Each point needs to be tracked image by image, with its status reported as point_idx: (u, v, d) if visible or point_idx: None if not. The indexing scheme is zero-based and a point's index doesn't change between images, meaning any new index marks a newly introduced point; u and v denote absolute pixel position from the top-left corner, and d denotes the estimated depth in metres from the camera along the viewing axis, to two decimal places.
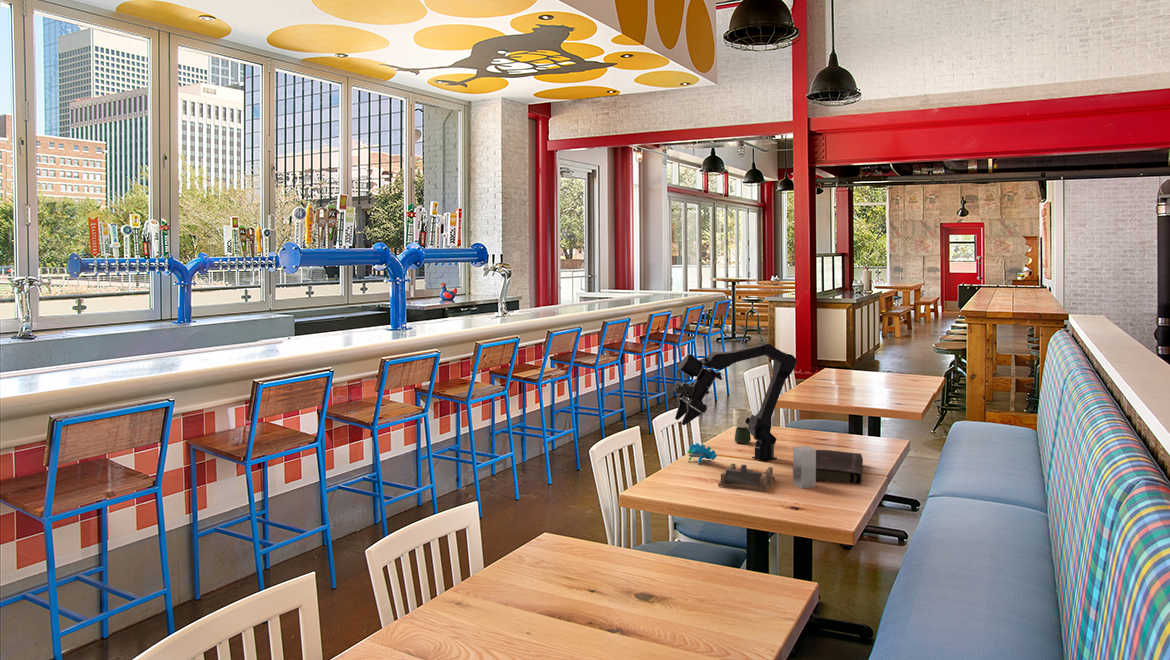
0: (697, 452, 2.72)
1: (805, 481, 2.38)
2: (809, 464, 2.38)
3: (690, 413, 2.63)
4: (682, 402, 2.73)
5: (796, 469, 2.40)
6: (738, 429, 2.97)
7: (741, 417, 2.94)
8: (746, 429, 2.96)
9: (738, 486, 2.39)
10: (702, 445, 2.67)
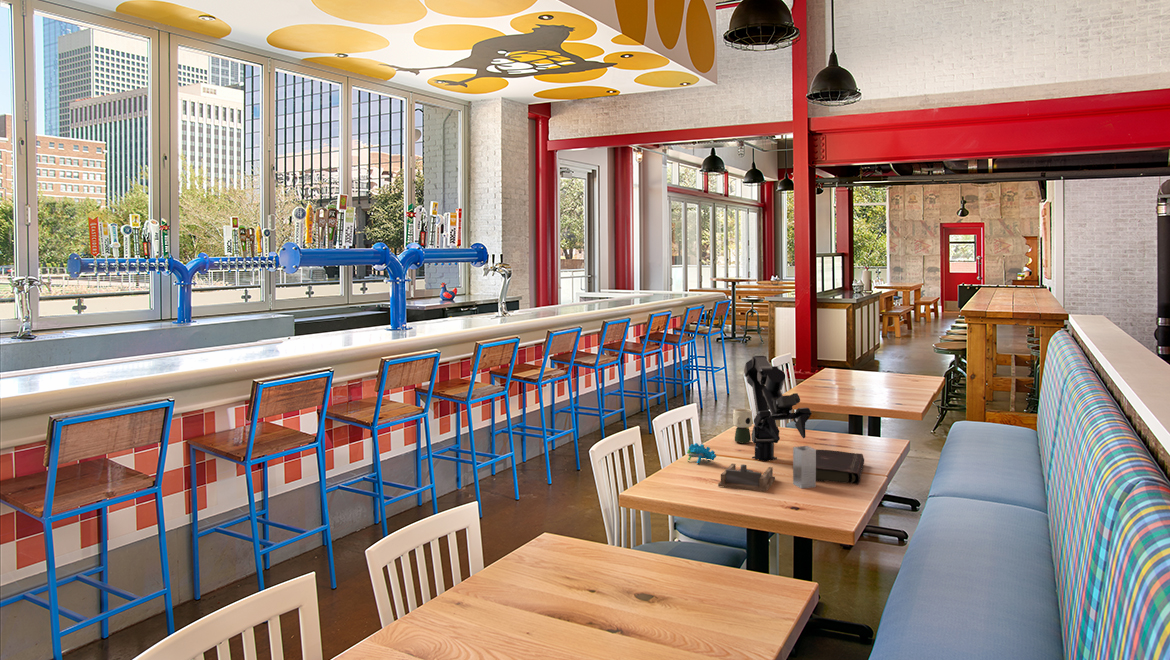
0: (697, 452, 2.72)
1: (805, 481, 2.38)
2: (809, 464, 2.38)
3: None
4: None
5: (796, 469, 2.40)
6: (738, 429, 2.97)
7: (741, 417, 2.94)
8: (746, 429, 2.96)
9: (738, 486, 2.39)
10: (701, 445, 2.67)
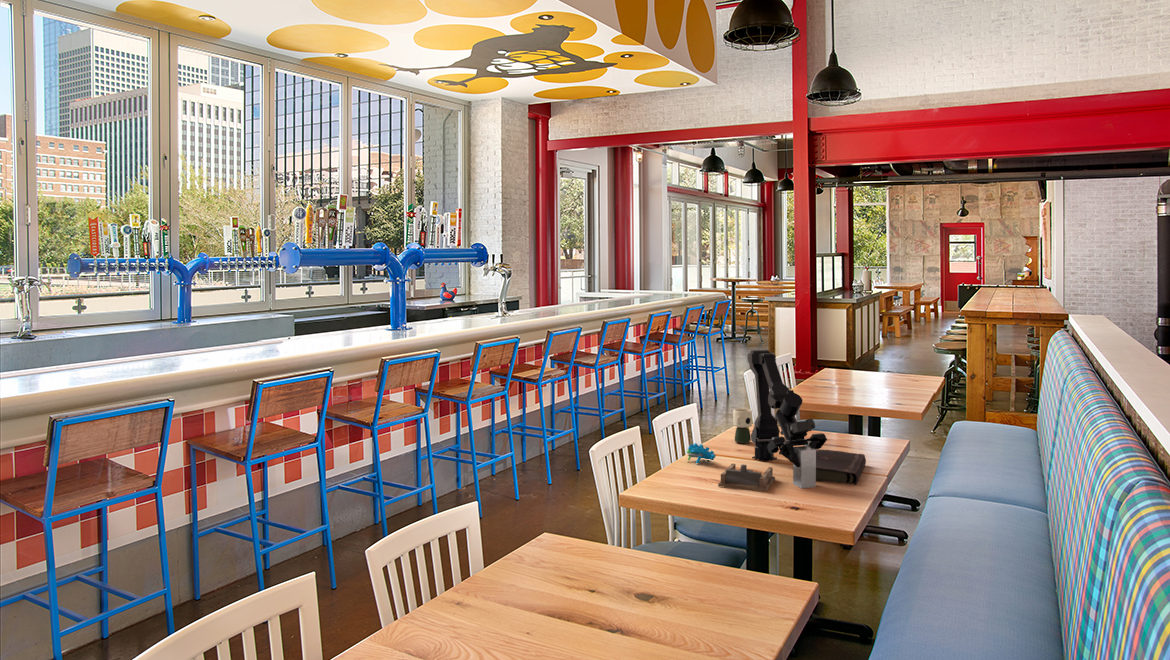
0: (696, 452, 2.72)
1: (805, 481, 2.38)
2: (809, 464, 2.38)
3: None
4: None
5: (796, 469, 2.40)
6: (738, 429, 2.97)
7: (741, 417, 2.94)
8: (746, 429, 2.96)
9: (738, 486, 2.39)
10: (700, 445, 2.67)
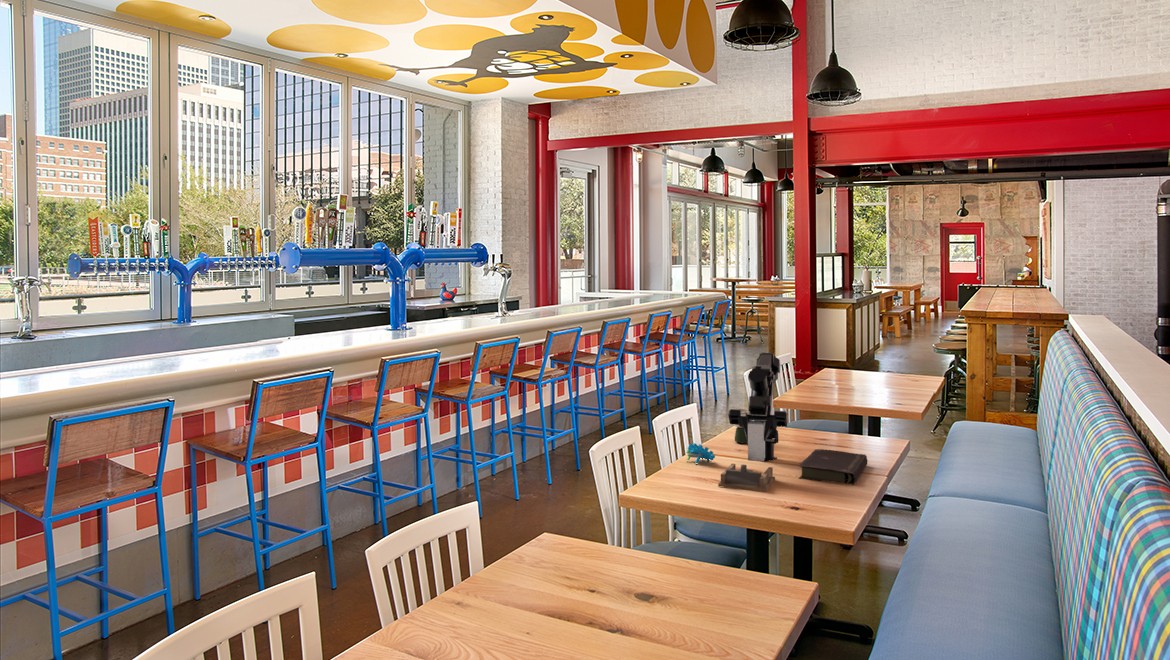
0: (696, 452, 2.72)
1: (752, 454, 2.46)
2: (756, 438, 2.45)
3: None
4: (747, 420, 2.50)
5: None
6: (738, 429, 2.97)
7: None
8: None
9: (738, 486, 2.39)
10: (699, 445, 2.67)
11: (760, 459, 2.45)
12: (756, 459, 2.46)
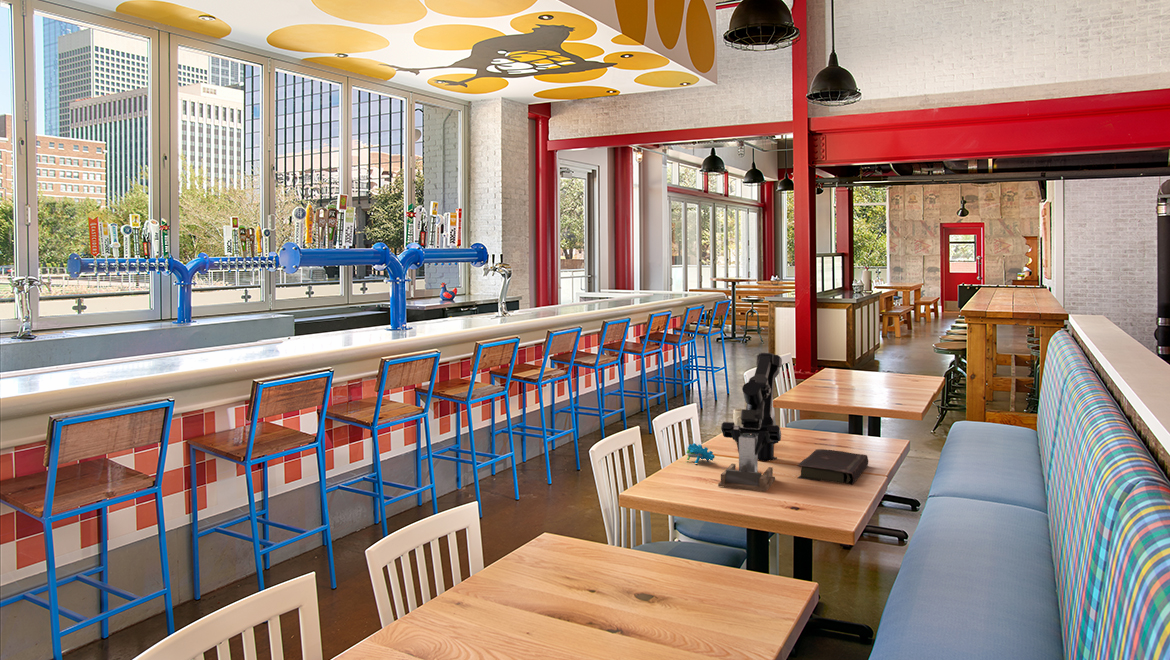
0: (695, 452, 2.71)
1: None
2: (747, 452, 2.43)
3: (761, 441, 2.45)
4: (740, 434, 2.48)
5: None
6: None
7: None
8: None
9: (738, 486, 2.39)
10: (699, 445, 2.66)
11: None
12: None
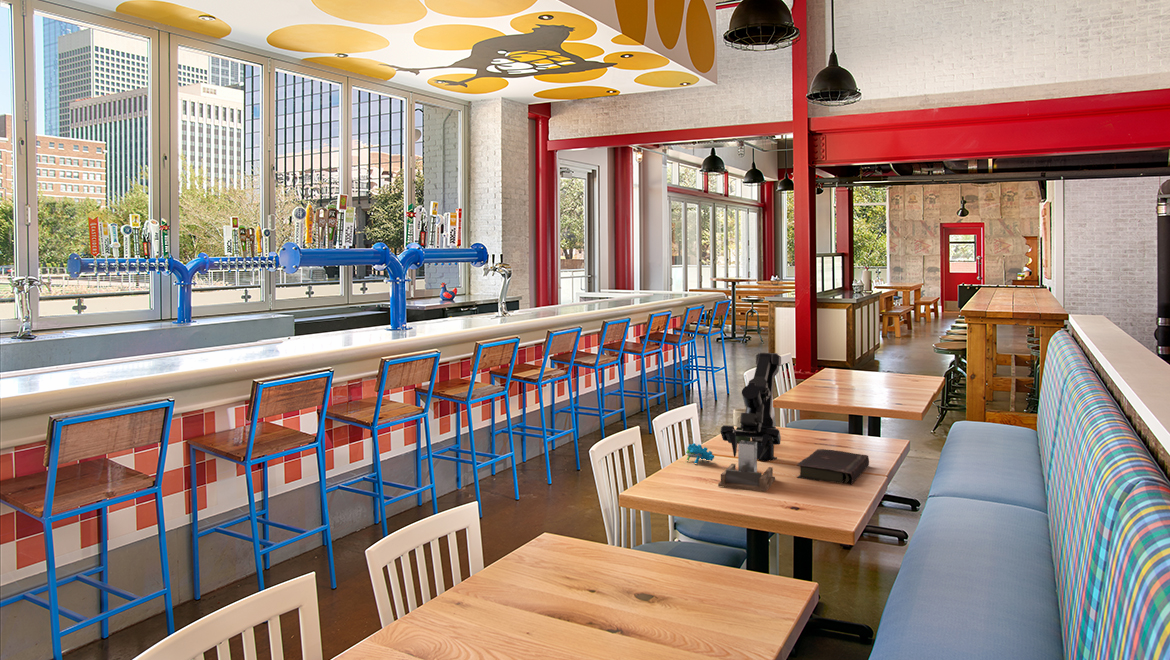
0: (695, 452, 2.71)
1: None
2: (747, 458, 2.42)
3: (765, 445, 2.44)
4: (735, 437, 2.48)
5: None
6: (738, 429, 2.97)
7: None
8: None
9: (738, 486, 2.39)
10: (699, 445, 2.66)
11: None
12: None
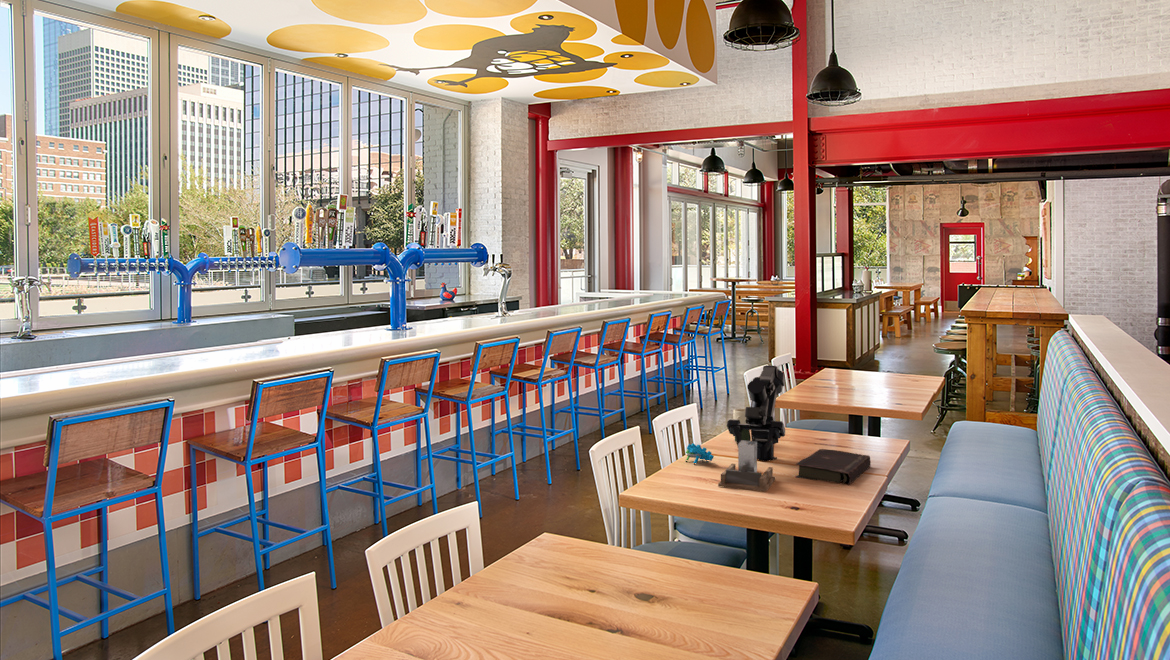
0: (695, 452, 2.71)
1: None
2: (747, 458, 2.42)
3: (771, 437, 2.52)
4: (739, 430, 2.57)
5: None
6: None
7: (741, 417, 2.94)
8: None
9: (738, 486, 2.39)
10: (698, 445, 2.66)
11: None
12: None
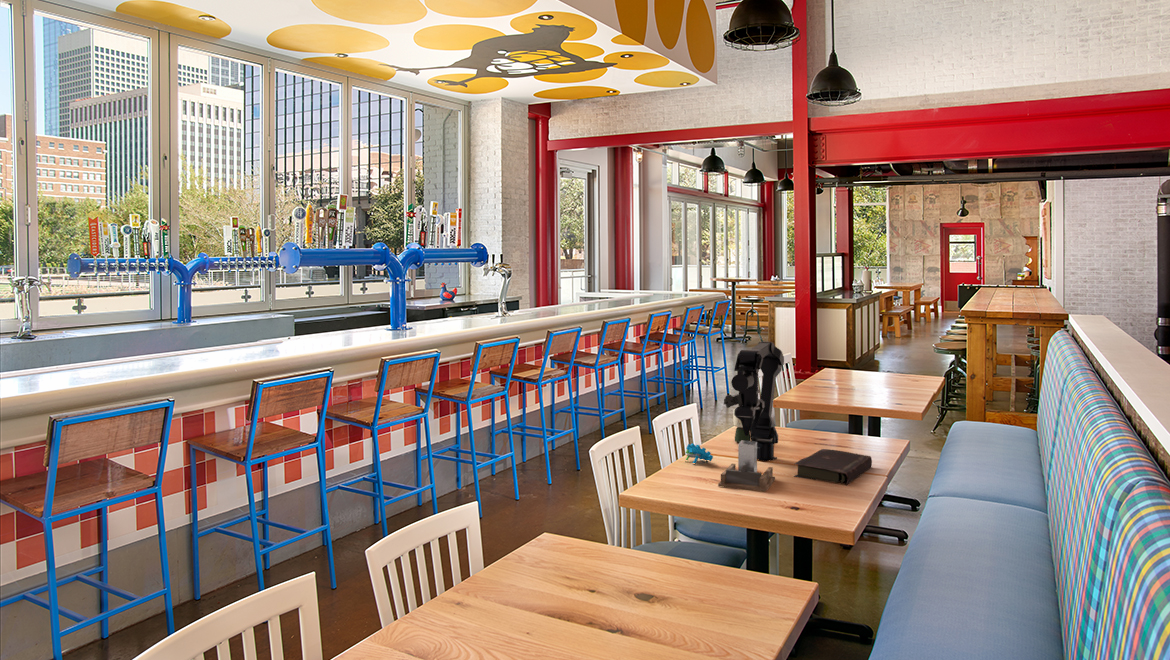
0: (694, 452, 2.71)
1: None
2: (747, 458, 2.42)
3: (745, 421, 2.53)
4: None
5: None
6: (738, 429, 2.97)
7: None
8: None
9: (738, 486, 2.39)
10: (697, 446, 2.66)
11: None
12: None
